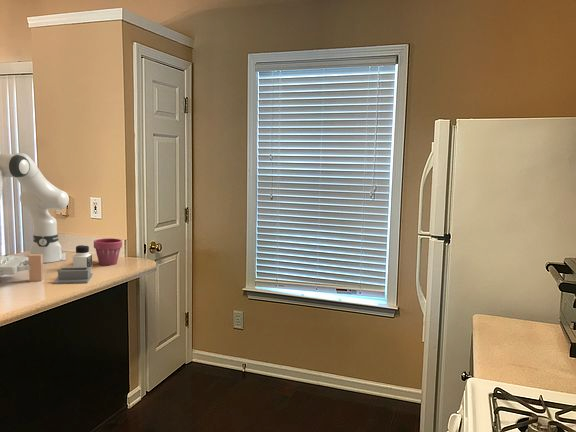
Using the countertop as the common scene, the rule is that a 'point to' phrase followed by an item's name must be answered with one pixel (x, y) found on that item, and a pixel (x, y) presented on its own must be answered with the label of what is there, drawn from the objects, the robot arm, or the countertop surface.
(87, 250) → the medicine bottle
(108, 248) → the plant pot
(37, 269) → the tall tan pillar block
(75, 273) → the rack
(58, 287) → the countertop surface
